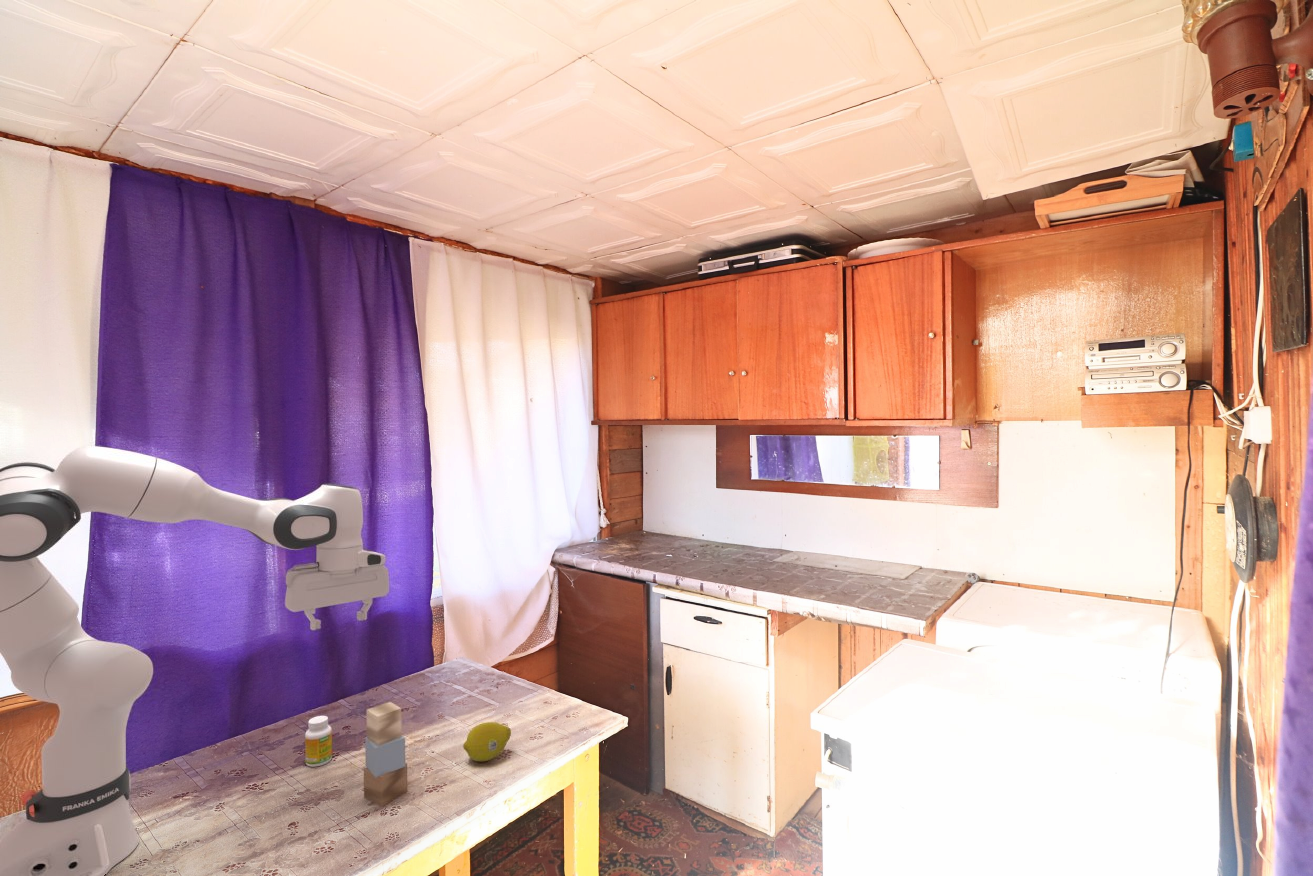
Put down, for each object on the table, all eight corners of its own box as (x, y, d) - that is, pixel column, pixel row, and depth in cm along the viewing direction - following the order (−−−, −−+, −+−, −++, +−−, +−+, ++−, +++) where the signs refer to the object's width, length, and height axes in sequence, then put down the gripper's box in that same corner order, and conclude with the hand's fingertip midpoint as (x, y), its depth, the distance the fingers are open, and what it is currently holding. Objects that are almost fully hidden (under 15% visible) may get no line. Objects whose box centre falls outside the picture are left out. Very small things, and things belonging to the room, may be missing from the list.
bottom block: (382, 806, 126) (381, 777, 125) (364, 797, 129) (363, 769, 129) (407, 791, 131) (407, 763, 131) (389, 783, 134) (389, 756, 134)
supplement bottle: (320, 768, 140) (319, 725, 140) (300, 766, 141) (299, 724, 141) (337, 756, 145) (336, 715, 145) (317, 754, 146) (316, 713, 146)
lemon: (464, 771, 138) (464, 736, 138) (462, 754, 145) (461, 721, 145) (513, 761, 142) (513, 727, 142) (509, 745, 149) (508, 712, 149)
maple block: (377, 746, 126) (377, 716, 126) (367, 738, 129) (366, 709, 129) (401, 736, 130) (401, 708, 130) (390, 729, 133) (390, 701, 133)
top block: (375, 777, 125) (375, 748, 125) (365, 766, 130) (365, 737, 130) (405, 766, 129) (405, 737, 129) (394, 755, 134) (394, 728, 134)
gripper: (291, 568, 123) (290, 638, 122) (392, 555, 138) (392, 617, 138) (280, 564, 127) (279, 632, 126) (380, 551, 142) (379, 612, 142)
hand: (339, 624), depth 132 cm, fingers open, 8 cm apart
